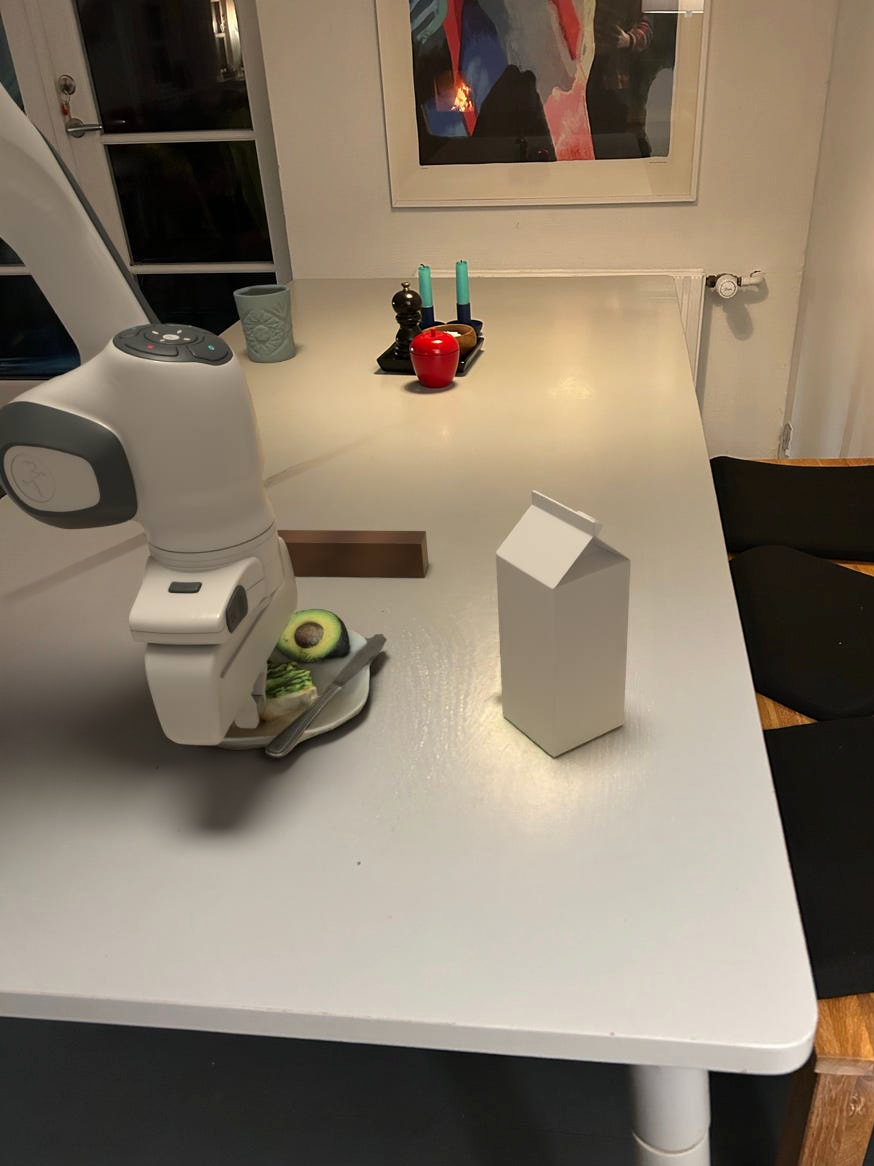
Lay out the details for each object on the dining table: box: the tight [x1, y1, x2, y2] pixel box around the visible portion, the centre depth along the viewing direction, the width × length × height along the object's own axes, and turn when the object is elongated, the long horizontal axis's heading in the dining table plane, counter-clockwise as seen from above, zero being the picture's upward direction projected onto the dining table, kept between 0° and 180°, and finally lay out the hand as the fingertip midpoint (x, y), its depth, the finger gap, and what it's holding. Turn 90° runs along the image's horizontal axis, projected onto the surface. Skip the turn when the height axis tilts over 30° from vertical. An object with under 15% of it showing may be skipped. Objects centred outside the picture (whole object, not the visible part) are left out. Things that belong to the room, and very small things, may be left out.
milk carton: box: [495, 490, 631, 758], centre depth 72 cm, size 7×7×19 cm
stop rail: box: [277, 529, 430, 578], centre depth 101 cm, size 18×3×4 cm, turn 84°
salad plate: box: [214, 608, 388, 759], centre depth 80 cm, size 19×18×5 cm
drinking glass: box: [233, 284, 296, 364], centre depth 174 cm, size 10×10×12 cm
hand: (252, 718), depth 75 cm, fingers closed
